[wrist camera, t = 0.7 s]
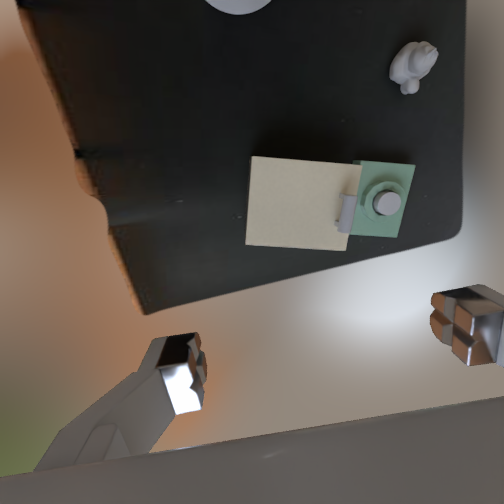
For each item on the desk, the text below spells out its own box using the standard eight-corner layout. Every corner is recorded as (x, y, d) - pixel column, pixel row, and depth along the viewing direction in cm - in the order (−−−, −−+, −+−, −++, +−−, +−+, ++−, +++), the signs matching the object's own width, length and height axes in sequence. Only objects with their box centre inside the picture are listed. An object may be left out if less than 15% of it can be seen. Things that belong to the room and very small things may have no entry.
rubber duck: (420, 46, 41) (461, 22, 34) (417, 95, 44) (454, 83, 36) (384, 50, 41) (417, 27, 34) (382, 99, 44) (412, 88, 36)
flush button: (375, 189, 44) (380, 191, 42) (397, 191, 44) (403, 193, 42) (370, 212, 45) (375, 214, 43) (392, 214, 45) (397, 216, 43)
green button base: (353, 160, 46) (365, 160, 42) (404, 164, 47) (422, 165, 42) (339, 229, 50) (350, 237, 46) (387, 232, 51) (402, 240, 46)
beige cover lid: (360, 165, 39) (377, 166, 34) (343, 249, 43) (356, 260, 38) (251, 155, 38) (253, 156, 33) (245, 243, 42) (246, 254, 37)
